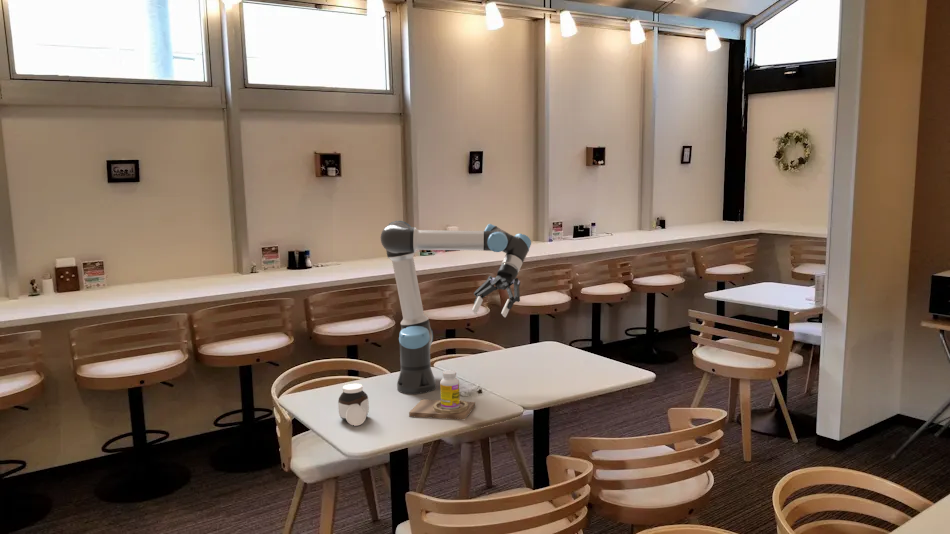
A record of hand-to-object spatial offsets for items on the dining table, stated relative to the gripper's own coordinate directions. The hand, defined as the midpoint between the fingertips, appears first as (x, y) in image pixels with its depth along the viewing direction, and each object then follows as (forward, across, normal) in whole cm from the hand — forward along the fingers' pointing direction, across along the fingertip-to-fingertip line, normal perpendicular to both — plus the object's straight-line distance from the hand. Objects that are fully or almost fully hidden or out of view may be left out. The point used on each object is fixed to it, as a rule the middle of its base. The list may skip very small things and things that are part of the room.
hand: (488, 313), depth 276 cm
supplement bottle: (+40, -2, 0) cm, 40 cm away
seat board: (+42, 0, 0) cm, 42 cm away
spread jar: (+58, +20, +16) cm, 63 cm away
